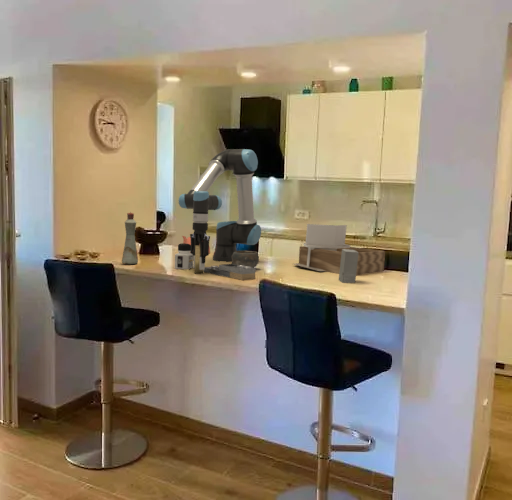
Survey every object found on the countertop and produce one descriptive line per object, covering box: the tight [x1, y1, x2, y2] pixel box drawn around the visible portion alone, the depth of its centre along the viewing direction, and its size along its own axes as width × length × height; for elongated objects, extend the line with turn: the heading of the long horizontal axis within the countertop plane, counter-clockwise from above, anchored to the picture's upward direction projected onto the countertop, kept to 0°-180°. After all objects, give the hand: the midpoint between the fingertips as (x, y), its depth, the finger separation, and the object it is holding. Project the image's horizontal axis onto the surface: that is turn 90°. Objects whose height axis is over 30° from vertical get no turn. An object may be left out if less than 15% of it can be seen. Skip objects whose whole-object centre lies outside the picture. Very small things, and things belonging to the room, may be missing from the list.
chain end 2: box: [218, 263, 256, 281], centre depth 278 cm, size 8×18×6 cm, turn 43°
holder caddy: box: [298, 245, 386, 276], centre depth 317 cm, size 29×36×12 cm
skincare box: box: [338, 249, 358, 284], centre depth 273 cm, size 8×7×16 cm
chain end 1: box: [203, 265, 231, 279], centre depth 286 cm, size 8×20×3 cm, turn 43°
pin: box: [194, 245, 204, 275], centre depth 285 cm, size 4×4×14 cm
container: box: [174, 242, 194, 270], centre depth 301 cm, size 8×8×13 cm
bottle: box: [121, 211, 139, 265], centre depth 310 cm, size 9×9×28 cm
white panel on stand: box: [293, 223, 352, 272], centre depth 318 cm, size 28×21×23 cm
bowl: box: [231, 250, 260, 268], centre depth 302 cm, size 14×15×10 cm
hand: (199, 268), depth 286 cm, fingers closed on pin, 4 cm apart
